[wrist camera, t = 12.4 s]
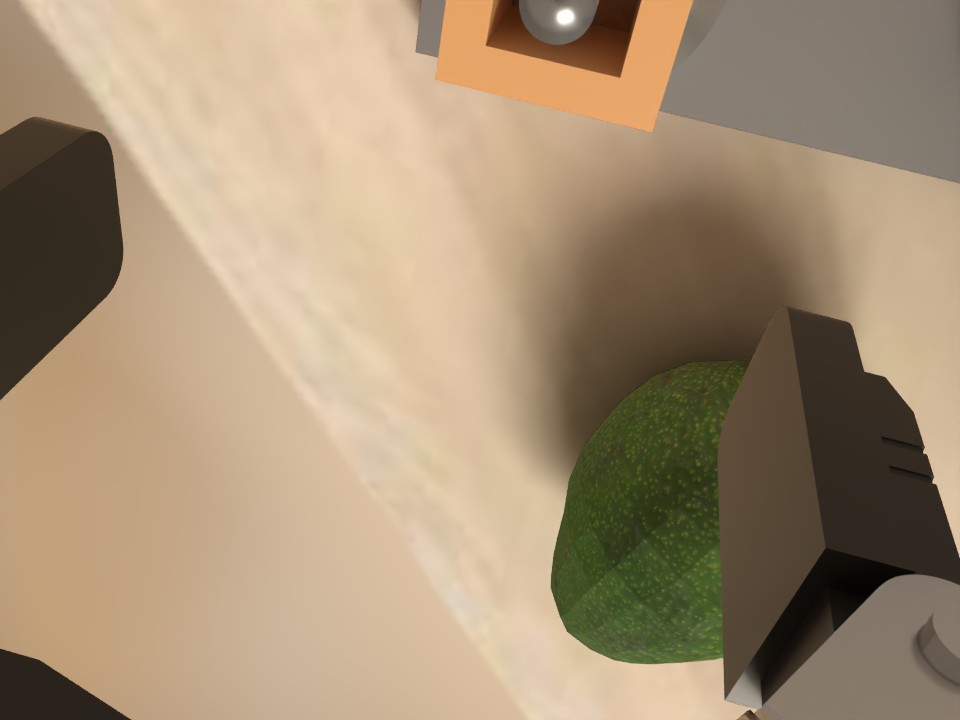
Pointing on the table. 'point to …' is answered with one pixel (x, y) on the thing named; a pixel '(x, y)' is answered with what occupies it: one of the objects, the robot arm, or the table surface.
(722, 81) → the board
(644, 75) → the collar
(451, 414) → the table surface
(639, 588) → the fruit
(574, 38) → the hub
